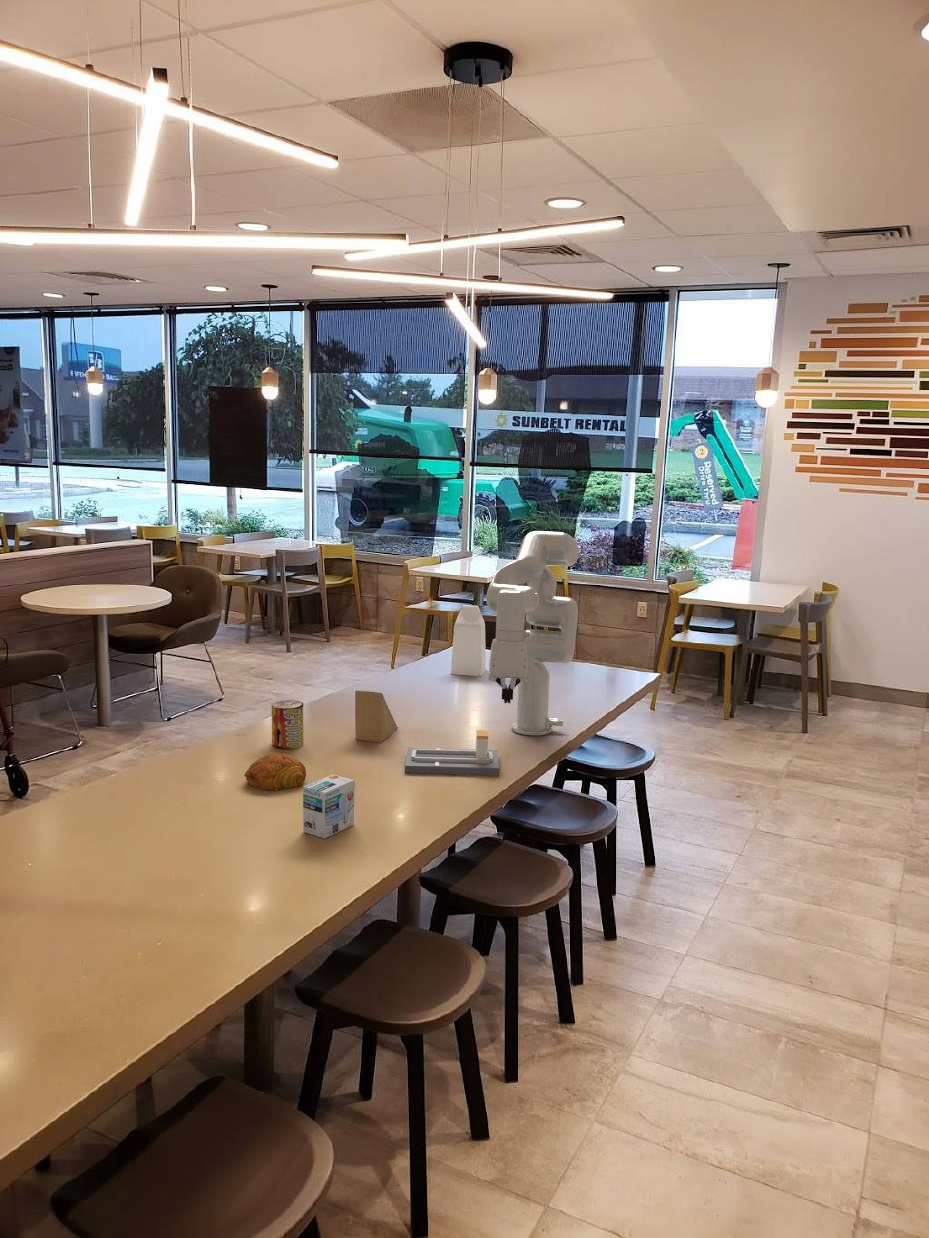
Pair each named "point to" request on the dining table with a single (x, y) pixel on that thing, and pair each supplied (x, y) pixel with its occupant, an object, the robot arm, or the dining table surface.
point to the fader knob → (481, 744)
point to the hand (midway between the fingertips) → (507, 701)
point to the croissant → (276, 772)
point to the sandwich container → (372, 717)
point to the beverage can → (287, 724)
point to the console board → (450, 761)
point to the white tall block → (469, 643)
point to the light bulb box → (328, 806)
